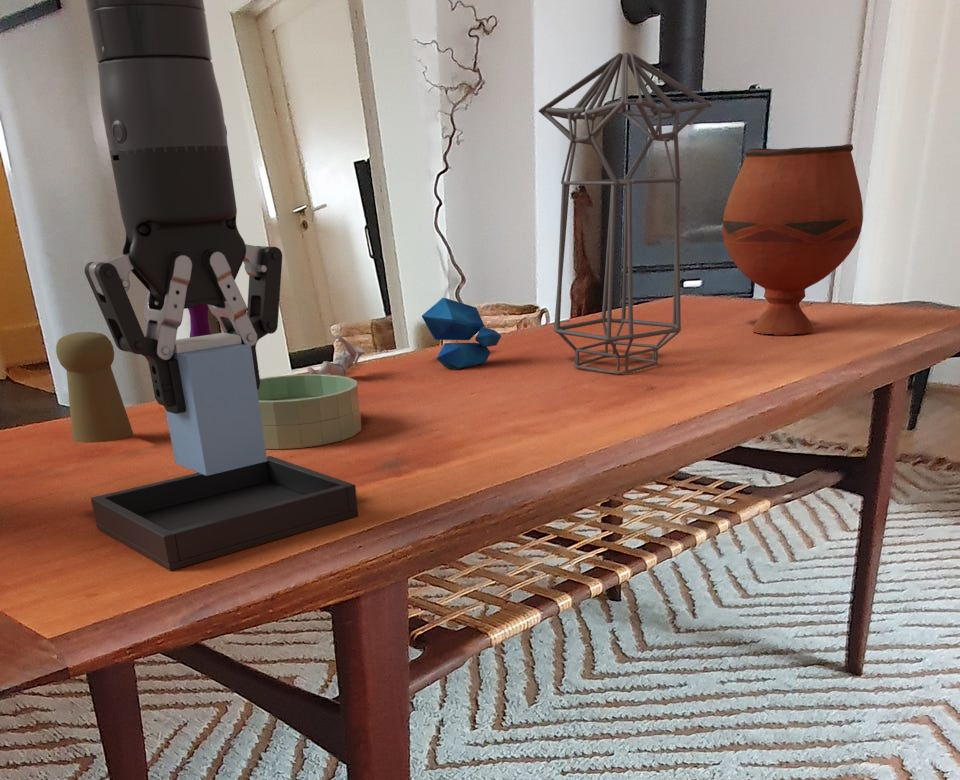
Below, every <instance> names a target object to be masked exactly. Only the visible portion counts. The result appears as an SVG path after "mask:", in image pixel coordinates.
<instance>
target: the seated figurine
mask: <svg viewBox="0 0 960 780" xmlns="http://www.w3.org/2000/svg"><path fill="white" fill-rule="evenodd" d="M333 338H336V339H337V340H335V343H342V345H343V347H344V350H343V351H342V352H340V353H339V354H338V355H336V356H335V358H334V359H333V361H332V362H330V361H329V360H326V361H325V360H324V361H322V363H321V365H320V368H319V370H316V369H314V368H313V367H310V366H309V367H308V368H307V372H308V374H327V375H339V376H344V377H346V375H347V372H348V371H349V369H350V368H351V367H353V366H354V364H355V365H357V364H358V361H359V359H360V357H361V356H363V355H364V354H365V353H366V351H365V350H364V349H362V348H361V347H358V346H355V345H353V344H351V343H350V342H349V341H348V340H346V339H345V338H343V337H342V336H339V335H334V336H333Z"/></svg>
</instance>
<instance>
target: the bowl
mask: <svg viewBox="0 0 960 780" xmlns="http://www.w3.org/2000/svg"><path fill="white" fill-rule="evenodd" d="M257 392H258V400H259V407H260V414H261V421H262V428H263V435H264V442H265V449H266V450H291V449H292V450H293V449H305V448H311V447H319V446H320V447H321V446H325V445H329V444H333V443H338V442H341V441H344V440H347V439H350V438H352V437H355V436H356V435H358V433H360V432H361V431H362V416H361V405H360V394H359V382H358V381H357V380H356V379H354V378H352V377H348V376H339V375H327V374H309V373H305V374H304V373H300V374H285V375H275V376H267V377H260V386H259V389H257Z"/></svg>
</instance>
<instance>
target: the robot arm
mask: <svg viewBox="0 0 960 780" xmlns="http://www.w3.org/2000/svg"><path fill="white" fill-rule="evenodd" d="M85 5H86V11H87V15H88V20H89V26H90V32H91V37H92V41H93V48H94V52H95V58H96V63H97V72H98V82H99V97H100V107H101V114H102V118H103V119H102V120H103V124H104V130H105V134H106V136H105V137H106V140H107V146H108V152H109V156H110V162H111V167H112V172H113V179H114V183H115V189H116V194H117V200H118V205H119V211H120V215H121V216H120V217H121V221H122V223H123V227H124V230H125V240H124V245H123V248H122V254H119V255H117V256H115V257H111V258H109V259H106V260H103V261H89V262H88V263H86V264H85V266H84V275H85V277H86V280H87V282H88V284H89V286H90V288H91V292H92V293H93V295H94V298H95V300H96V303H97V305H98V307H99V309H100V312H101V314H102V317H103V319H104V320H105V323H106V325H107V327H108V330H109V332H110V334H111V336H112V338H113V339H112V340H113V341H114V343H115V346H116V347H117V349H118V350H119V351H123V352H127V353H128V352H129V353H132V354H135V355H141V356H143V357H144V358H145V359H146V360H147V363H148V367H149V373H150V378H151V383H152V389H153V395H154V399H155V400H156V402H157V404H158V405H159V406H163V407H164V409H166V410H165V412H166V411H168V412H171V413H174V414H178V413H184V412H185V411H186V405H185V399H184V393H183V388H182V382H181V376H180V370H179V365H178V360H177V359H173V354H174V348H175V341H176V340H177V333H178V329H179V327H181V325H182V322H183V317H184V311H185V310H186V309H187V310H188V308H192V307H194V306H197V305H199V304H207V305H208V307H209V309H208V310H209V311H210V313H211V314H212V315H213V316H214V317H215V318H216V319H217V321H218V324H219V325H220V327H221V329H222V331H223V333H229V334H235V335H240V336H241V344H244V345H250V346H251V350H252V357H253V364H254V371H255V378H256V385H257V389H259V386H260V378H261V377H260V376H261V375H260V369H259V362H258V356H257V355H258V354H257V343H258V341H259V340H261V339H262V338H264V337H265V336H266V335H268V334H269V335H271V334H274V333H276V331H277V330H278V326H279V312H280V297H281V285H282V284H281V281H282V268H283V267H282V266H283V252H282V250H281V249H280V248H279V247H277V246H269V245H268V246H265V245H252V244H248V243H245V240H244V238H243V237H242V235H241V234H240V233H241V232H240V231H239V230H238V225H237V215H238V208H237V201H236V195H235V187H234V180H233V173H232V166H231V159H230V158H231V157H230V151H229V143H228V130H227V125H226V123H225V116H224V109H223V104H222V99H221V98H222V97H221V93H220V89H219V86H218V83H217V79H216V75H215V69H214V64H213V62H212V60H213V58H212V51H211V44H210V35H209V30H208V22H207V15H206V9H205V3H204V0H85ZM243 264H244V271H245V272H246V275H248V289H247V304H246V301H245V300H244V298H243V295H242V292H241V290H240V289H239V287H238V285H237V283H236V278H237V276H238V274H239V271H240V270H241V267H242V265H243ZM130 273H132V274H133V275H134V276H135V278H137V280H138V281H140V283H141V284H142V285H143V286H144V287H145V288H146V294H145V299H144V300H145V301H144V308H143V319H144V329H143V330H142V327H141V325H140V322H139V320H138V317H137V315H136V312H135V310H134V308H133V305H132V302H131V300H130V298H129V295H128V293H127V292H128V291H129V290H130V288H131V282H130Z"/></svg>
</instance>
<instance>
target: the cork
mask: <svg viewBox="0 0 960 780" xmlns="http://www.w3.org/2000/svg"><path fill="white" fill-rule="evenodd" d="M55 347H56V348H55V353H56V357H57V360H58V362H59V364H60V365H61V367H62V368H64V370H65V371H66V378H67V379H66V380H67V391H68V403H69V413H70V415H69V416H70V426H71V437H72V438H71V439H72V440H73V441H75V442H77V443H86V444H87V443H89V444H90V443H104V442H110V441H111V442H112V441H116V440H120V439H124V438H127V437H129V436H131V437H135V435H134V431H133V428H132V424H131V423H130V422H131V421H130V419H129V416H128V413H127V411H126V407H125V404H124V401H123V398H122V395H121V392H120V389H119V386H118V383H117V381H116V378H115V374H114V372H113V369H112V365H113V362H114V360H115V350H114V345H113V344H112V341H111V340H110V339H109V337H108V336H107V335H105V334H103V333H101V332H95V331H78V332H73V333H69V334H66V335H63V336H62V337H60V338H59V339H58V340H57V343H56V344H55Z"/></svg>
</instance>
